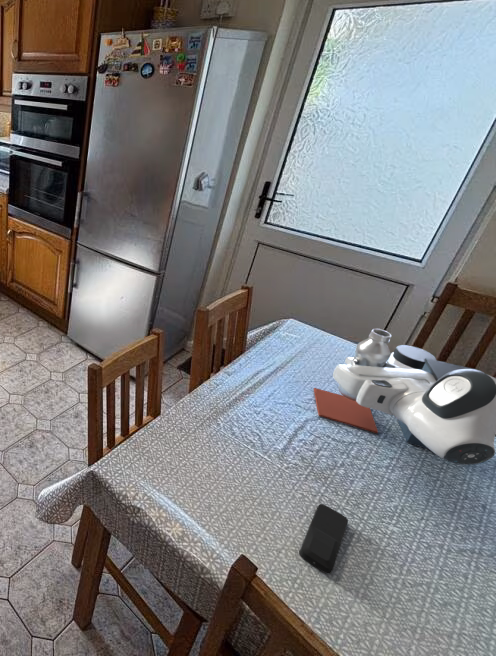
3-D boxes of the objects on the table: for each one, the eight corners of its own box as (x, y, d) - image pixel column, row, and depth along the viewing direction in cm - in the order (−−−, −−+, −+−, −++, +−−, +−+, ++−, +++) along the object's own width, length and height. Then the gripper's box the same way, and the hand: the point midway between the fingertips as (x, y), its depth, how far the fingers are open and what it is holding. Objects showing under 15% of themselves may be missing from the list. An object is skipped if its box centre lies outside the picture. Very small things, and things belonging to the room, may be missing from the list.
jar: (403, 378, 122) (420, 345, 117) (427, 397, 115) (447, 363, 110) (370, 377, 123) (386, 344, 118) (392, 396, 116) (410, 361, 110)
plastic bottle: (363, 392, 110) (395, 329, 101) (369, 408, 105) (403, 343, 96) (333, 384, 113) (361, 322, 104) (337, 399, 108) (367, 335, 99)
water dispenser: (443, 429, 105) (480, 370, 97) (459, 459, 97) (501, 397, 89) (393, 415, 109) (425, 357, 101) (405, 442, 101) (440, 382, 93)
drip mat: (367, 404, 113) (368, 402, 113) (377, 433, 104) (378, 431, 103) (313, 389, 119) (314, 387, 118) (318, 416, 109) (319, 414, 109)
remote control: (317, 507, 87) (297, 555, 78) (320, 501, 86) (300, 549, 77) (346, 523, 84) (329, 576, 74) (349, 518, 83) (333, 570, 74)
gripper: (466, 391, 90) (415, 353, 102) (362, 383, 92) (325, 347, 105) (452, 413, 92) (404, 373, 105) (351, 404, 95) (316, 367, 107)
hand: (364, 360), depth 105 cm, fingers closed on plastic bottle, 6 cm apart
